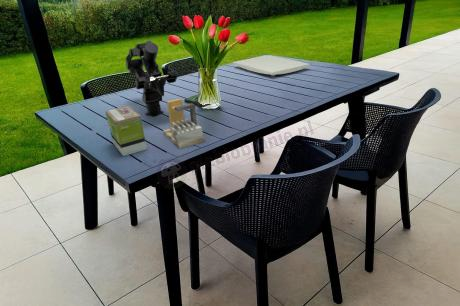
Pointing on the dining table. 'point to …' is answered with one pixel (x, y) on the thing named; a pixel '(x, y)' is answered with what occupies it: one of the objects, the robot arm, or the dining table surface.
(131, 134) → the tea box
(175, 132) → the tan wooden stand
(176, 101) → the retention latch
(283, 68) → the board
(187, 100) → the disk drive
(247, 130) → the dining table surface
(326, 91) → the dining table surface
